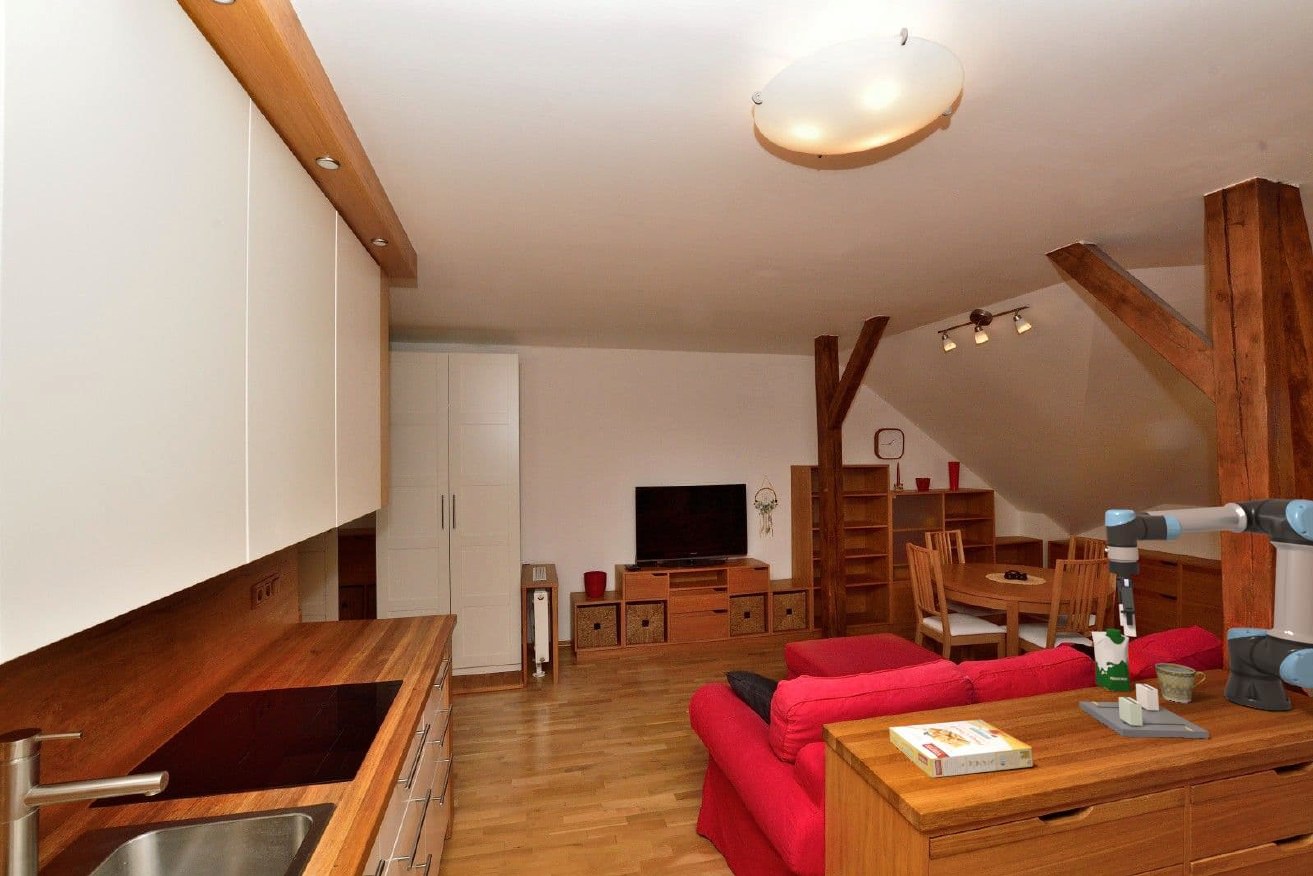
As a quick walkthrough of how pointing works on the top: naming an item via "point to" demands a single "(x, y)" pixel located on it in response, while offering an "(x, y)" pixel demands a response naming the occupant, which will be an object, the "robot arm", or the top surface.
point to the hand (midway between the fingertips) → (1128, 630)
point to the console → (1144, 722)
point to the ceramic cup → (1176, 681)
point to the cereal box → (960, 748)
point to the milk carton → (1111, 660)
